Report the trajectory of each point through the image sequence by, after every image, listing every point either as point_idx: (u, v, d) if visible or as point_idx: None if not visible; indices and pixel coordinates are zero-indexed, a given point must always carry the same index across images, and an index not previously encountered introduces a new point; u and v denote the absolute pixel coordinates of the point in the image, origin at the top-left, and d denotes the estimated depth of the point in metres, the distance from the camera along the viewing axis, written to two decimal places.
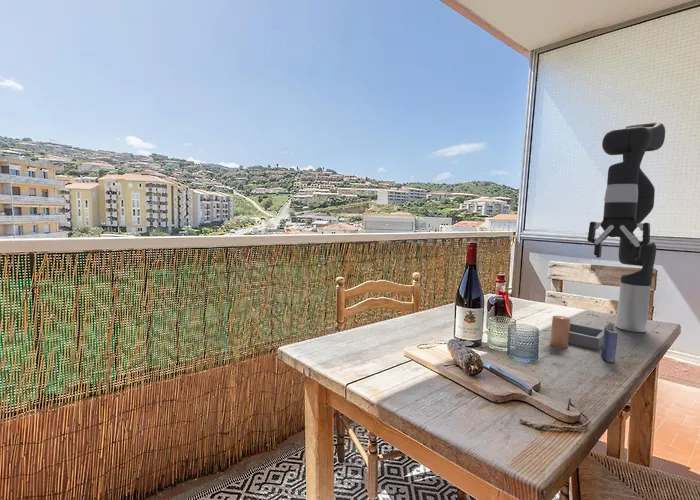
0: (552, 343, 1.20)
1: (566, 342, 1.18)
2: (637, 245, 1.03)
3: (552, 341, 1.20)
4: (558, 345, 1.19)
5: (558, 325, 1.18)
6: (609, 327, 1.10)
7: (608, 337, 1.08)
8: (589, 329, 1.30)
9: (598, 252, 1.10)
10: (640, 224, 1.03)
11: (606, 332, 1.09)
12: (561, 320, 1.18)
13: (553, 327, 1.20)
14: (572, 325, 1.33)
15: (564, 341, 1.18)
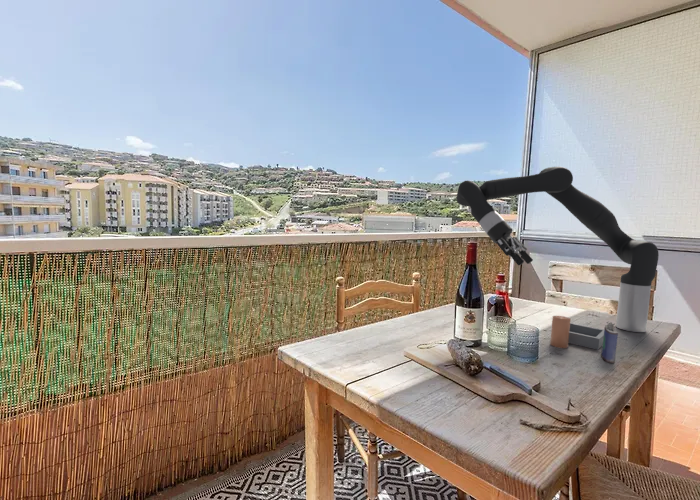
0: (552, 343, 1.20)
1: (566, 342, 1.18)
2: (509, 256, 1.26)
3: (552, 341, 1.20)
4: (558, 345, 1.19)
5: (558, 325, 1.18)
6: (609, 327, 1.10)
7: (608, 337, 1.08)
8: (589, 329, 1.30)
9: (525, 260, 1.31)
10: None
11: (606, 332, 1.09)
12: (561, 320, 1.18)
13: (553, 327, 1.20)
14: (572, 325, 1.33)
15: (564, 341, 1.18)
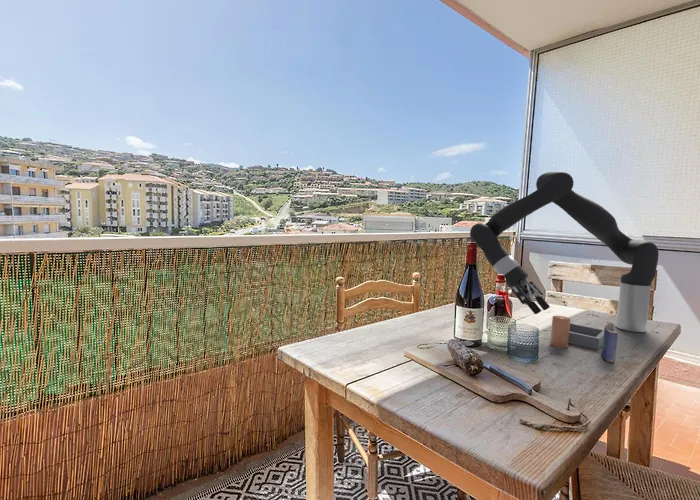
0: (552, 343, 1.20)
1: (566, 342, 1.18)
2: (526, 304, 1.23)
3: (552, 341, 1.20)
4: (558, 345, 1.19)
5: (558, 325, 1.18)
6: (609, 327, 1.10)
7: (608, 337, 1.08)
8: (589, 329, 1.30)
9: (541, 306, 1.28)
10: None
11: (606, 332, 1.09)
12: (561, 320, 1.18)
13: (553, 327, 1.20)
14: (572, 325, 1.33)
15: (564, 341, 1.18)
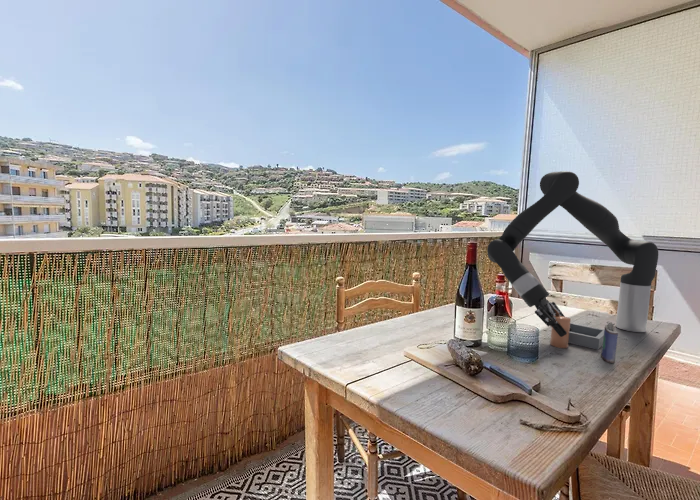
0: (552, 343, 1.20)
1: (566, 342, 1.18)
2: None
3: (552, 341, 1.20)
4: (558, 345, 1.19)
5: None
6: (609, 327, 1.10)
7: (608, 337, 1.08)
8: (589, 329, 1.30)
9: None
10: None
11: (606, 332, 1.09)
12: (561, 320, 1.18)
13: None
14: (572, 325, 1.33)
15: (564, 341, 1.18)
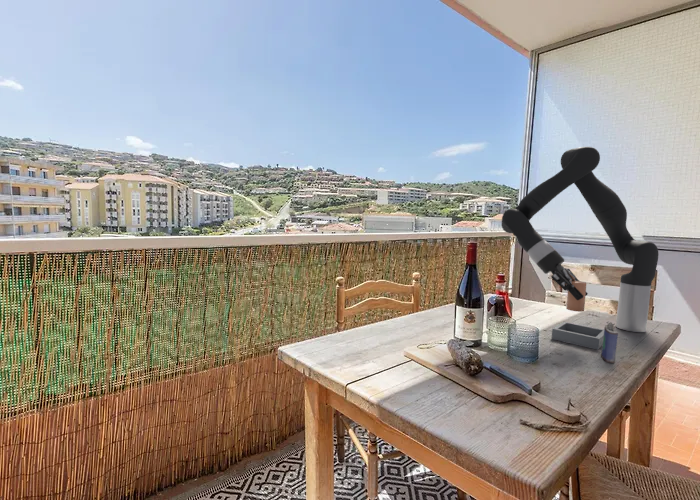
0: (568, 307, 1.22)
1: (582, 305, 1.21)
2: (567, 290, 1.21)
3: (568, 305, 1.22)
4: (575, 309, 1.21)
5: None
6: (609, 327, 1.10)
7: (608, 337, 1.08)
8: (589, 329, 1.30)
9: None
10: None
11: (606, 332, 1.09)
12: (577, 284, 1.20)
13: None
14: (572, 325, 1.33)
15: (580, 305, 1.20)
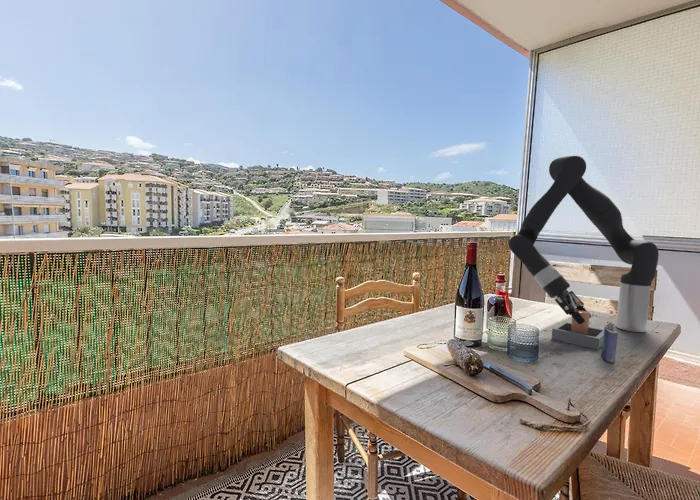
0: None
1: None
2: (569, 314, 1.25)
3: None
4: None
5: None
6: (609, 327, 1.10)
7: (608, 337, 1.08)
8: (589, 329, 1.30)
9: None
10: None
11: (606, 332, 1.09)
12: (581, 314, 1.24)
13: (574, 321, 1.26)
14: None
15: (584, 334, 1.25)
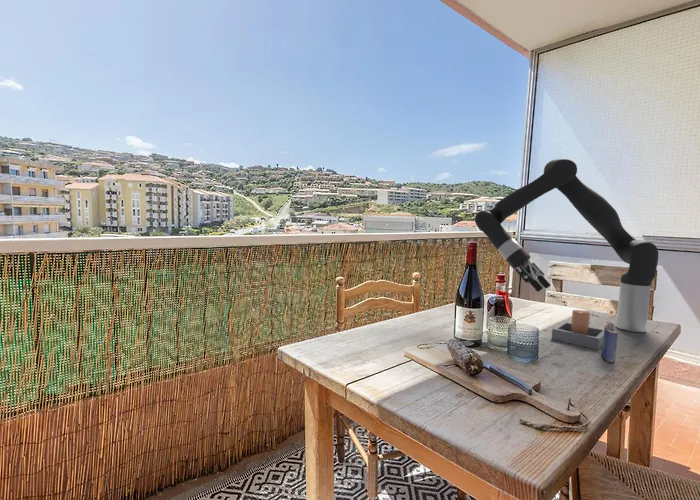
0: None
1: None
2: (528, 282, 1.33)
3: None
4: None
5: (578, 319, 1.25)
6: (609, 327, 1.10)
7: (608, 337, 1.08)
8: (589, 329, 1.30)
9: (543, 285, 1.38)
10: None
11: (606, 332, 1.09)
12: (581, 314, 1.24)
13: (574, 321, 1.26)
14: None
15: (584, 334, 1.25)
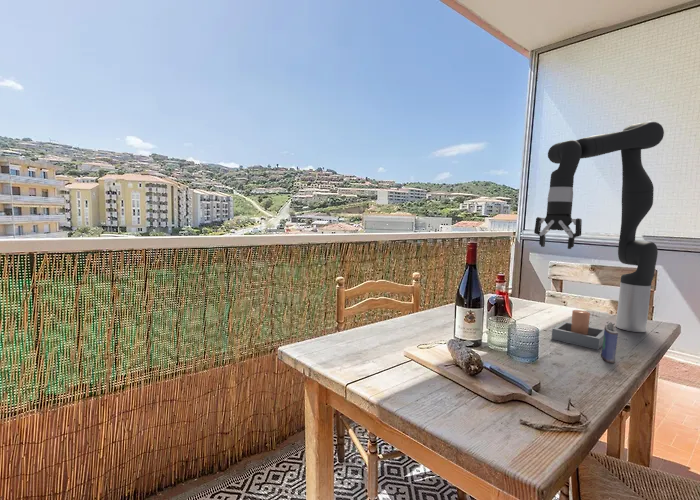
0: None
1: None
2: (571, 236, 1.27)
3: None
4: None
5: (578, 319, 1.25)
6: (609, 327, 1.10)
7: (608, 337, 1.08)
8: (589, 329, 1.30)
9: (542, 242, 1.34)
10: (574, 219, 1.27)
11: (606, 332, 1.09)
12: (581, 314, 1.24)
13: (574, 321, 1.26)
14: None
15: (584, 334, 1.25)
